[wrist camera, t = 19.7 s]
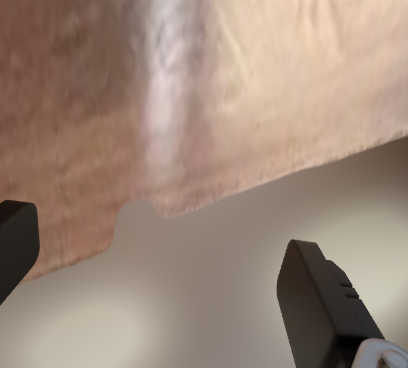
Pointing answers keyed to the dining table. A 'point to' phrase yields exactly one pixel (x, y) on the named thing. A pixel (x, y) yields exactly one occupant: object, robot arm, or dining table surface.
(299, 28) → the dining table surface
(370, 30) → the dining table surface
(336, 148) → the dining table surface
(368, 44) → the dining table surface
